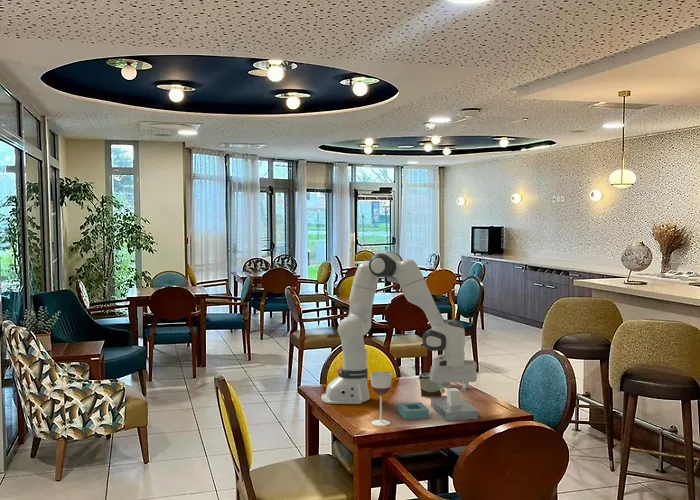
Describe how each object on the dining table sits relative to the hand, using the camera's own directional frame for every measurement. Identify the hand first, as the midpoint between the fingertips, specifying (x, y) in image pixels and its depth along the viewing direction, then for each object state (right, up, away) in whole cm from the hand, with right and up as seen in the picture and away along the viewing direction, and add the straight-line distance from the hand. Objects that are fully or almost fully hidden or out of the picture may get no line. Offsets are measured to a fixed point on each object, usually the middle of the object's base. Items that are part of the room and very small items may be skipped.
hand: (452, 392), depth 266 cm
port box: (0, -9, 0) cm, 9 cm away
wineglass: (-32, -10, -14) cm, 36 cm away
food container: (-6, -8, +28) cm, 29 cm away
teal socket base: (-17, -9, -3) cm, 20 cm away
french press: (+2, -7, +45) cm, 46 cm away
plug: (0, -9, 0) cm, 9 cm away
